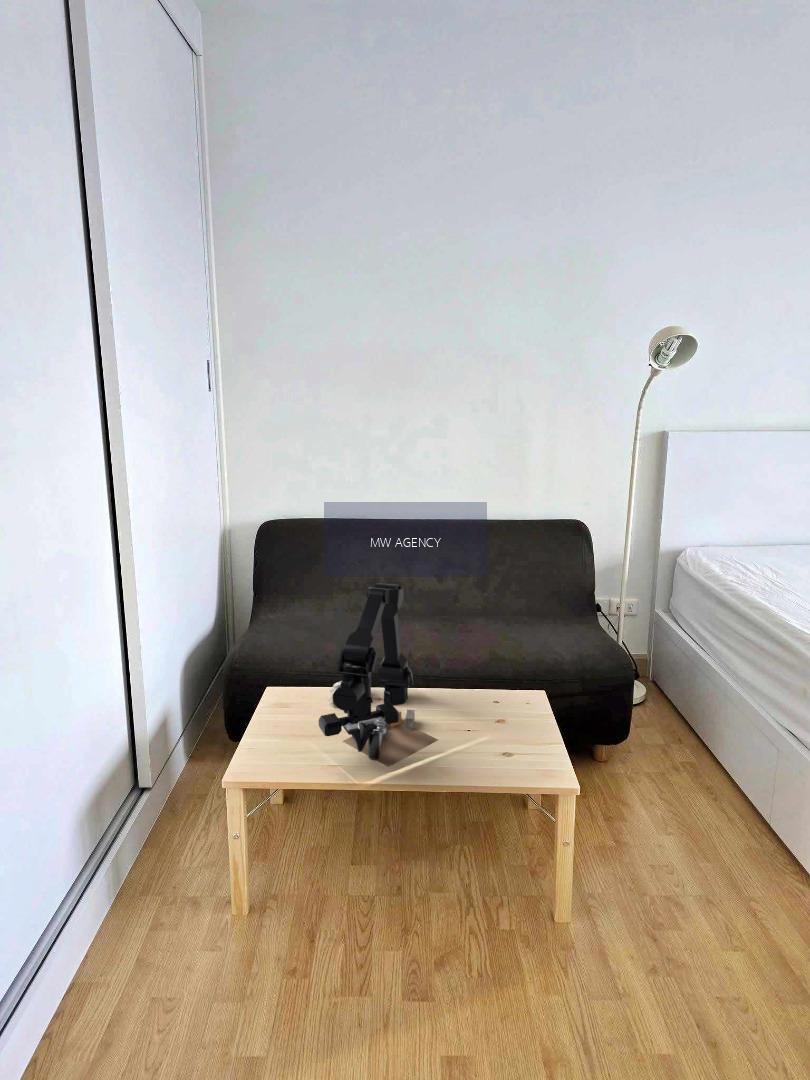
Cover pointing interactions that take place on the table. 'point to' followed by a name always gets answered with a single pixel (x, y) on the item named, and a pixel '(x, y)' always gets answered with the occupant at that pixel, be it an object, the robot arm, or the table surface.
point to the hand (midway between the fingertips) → (359, 750)
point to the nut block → (397, 722)
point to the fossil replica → (333, 692)
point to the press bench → (399, 741)
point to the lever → (377, 738)
